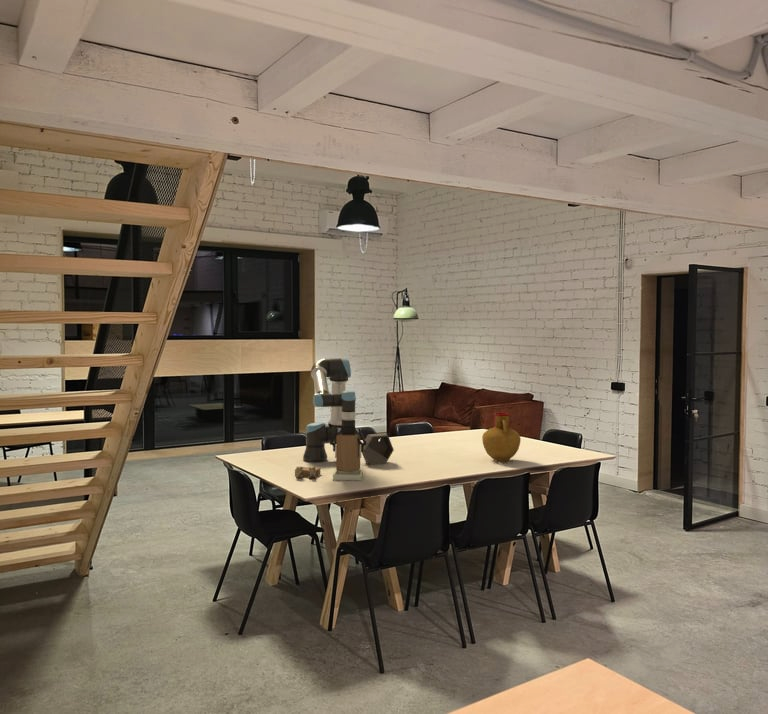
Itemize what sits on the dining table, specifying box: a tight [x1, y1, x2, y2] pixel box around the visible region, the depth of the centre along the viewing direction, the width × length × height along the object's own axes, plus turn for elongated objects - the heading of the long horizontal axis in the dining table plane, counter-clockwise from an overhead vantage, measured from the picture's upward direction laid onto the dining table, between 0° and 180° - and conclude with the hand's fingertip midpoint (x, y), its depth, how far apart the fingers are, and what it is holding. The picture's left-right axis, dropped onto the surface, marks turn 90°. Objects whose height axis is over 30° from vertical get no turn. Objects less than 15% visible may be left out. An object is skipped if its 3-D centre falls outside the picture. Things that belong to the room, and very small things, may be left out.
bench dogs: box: [295, 466, 317, 480], centre depth 364 cm, size 4×11×6 cm, turn 88°
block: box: [335, 433, 361, 472], centre depth 366 cm, size 10×10×20 cm
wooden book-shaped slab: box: [294, 466, 321, 478], centre depth 372 cm, size 8×12×4 cm, turn 73°
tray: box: [332, 469, 364, 482], centre depth 366 cm, size 15×15×3 cm
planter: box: [361, 433, 395, 466], centre depth 407 cm, size 17×8×21 cm
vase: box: [481, 412, 521, 463], centre depth 419 cm, size 24×24×30 cm
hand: (348, 457), depth 366 cm, fingers closed on block, 13 cm apart
